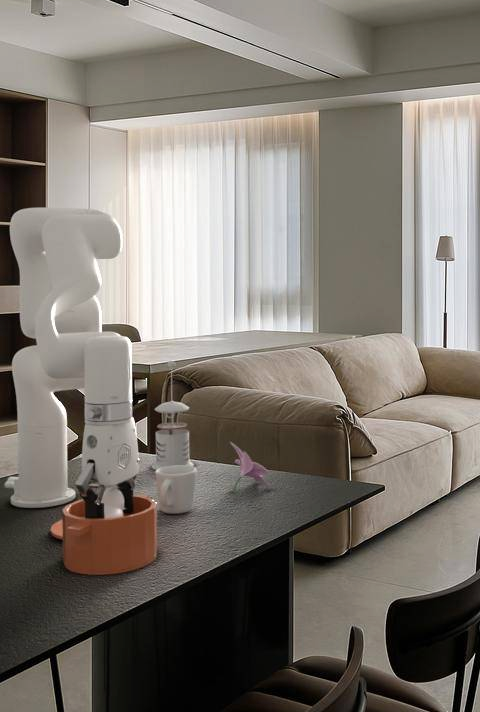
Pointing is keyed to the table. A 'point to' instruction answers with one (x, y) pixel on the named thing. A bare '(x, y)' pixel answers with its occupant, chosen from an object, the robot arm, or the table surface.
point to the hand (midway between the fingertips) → (110, 519)
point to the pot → (109, 539)
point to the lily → (250, 467)
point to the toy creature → (113, 503)
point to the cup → (176, 488)
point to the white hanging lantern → (172, 436)
